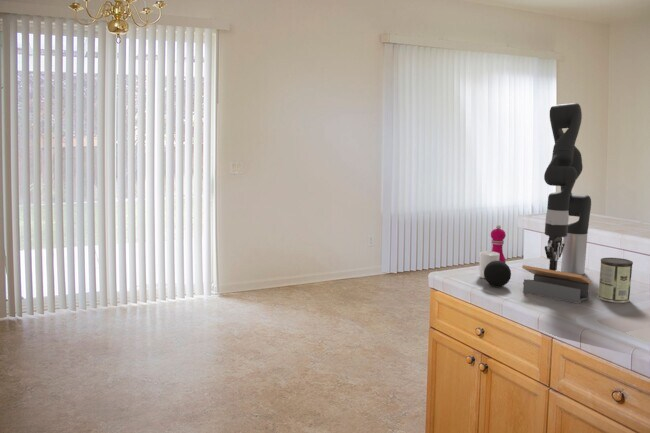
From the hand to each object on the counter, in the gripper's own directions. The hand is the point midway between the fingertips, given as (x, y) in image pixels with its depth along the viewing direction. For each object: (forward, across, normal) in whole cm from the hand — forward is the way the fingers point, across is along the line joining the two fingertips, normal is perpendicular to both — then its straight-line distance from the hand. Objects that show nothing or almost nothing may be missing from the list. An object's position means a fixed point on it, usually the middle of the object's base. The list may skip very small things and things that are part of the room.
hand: (552, 270), depth 212 cm
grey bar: (+9, -4, -1) cm, 10 cm away
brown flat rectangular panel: (+3, -4, 0) cm, 4 cm away
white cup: (+10, -11, -30) cm, 33 cm away
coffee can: (+10, -14, +17) cm, 24 cm away
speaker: (+10, 0, -21) cm, 23 cm away
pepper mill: (+10, -22, -32) cm, 40 cm away
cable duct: (+10, -4, 0) cm, 11 cm away
